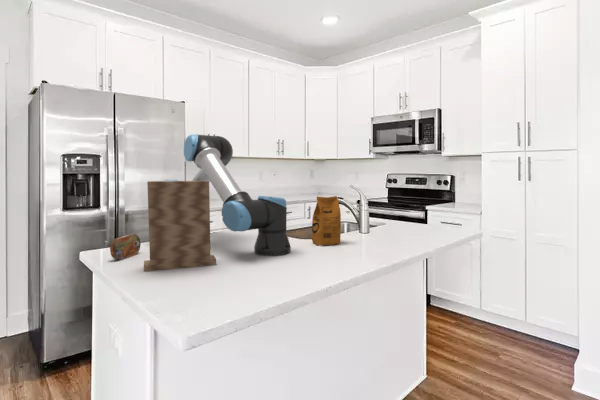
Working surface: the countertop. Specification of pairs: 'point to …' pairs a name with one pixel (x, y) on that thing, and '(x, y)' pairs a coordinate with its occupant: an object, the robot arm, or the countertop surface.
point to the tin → (125, 247)
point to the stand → (178, 225)
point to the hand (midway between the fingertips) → (174, 217)
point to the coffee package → (326, 221)
